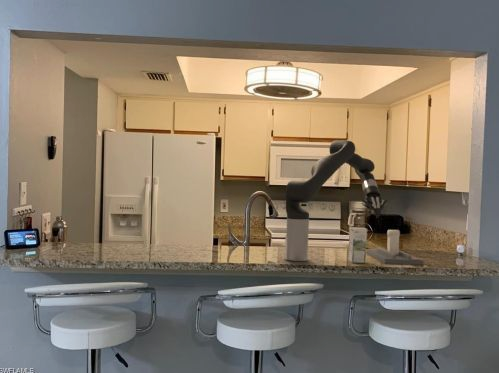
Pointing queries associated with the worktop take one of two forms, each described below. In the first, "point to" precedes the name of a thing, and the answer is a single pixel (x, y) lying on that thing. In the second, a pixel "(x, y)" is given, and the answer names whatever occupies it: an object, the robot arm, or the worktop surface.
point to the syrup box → (357, 244)
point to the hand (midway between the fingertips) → (378, 215)
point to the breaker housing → (394, 257)
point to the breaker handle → (393, 241)
